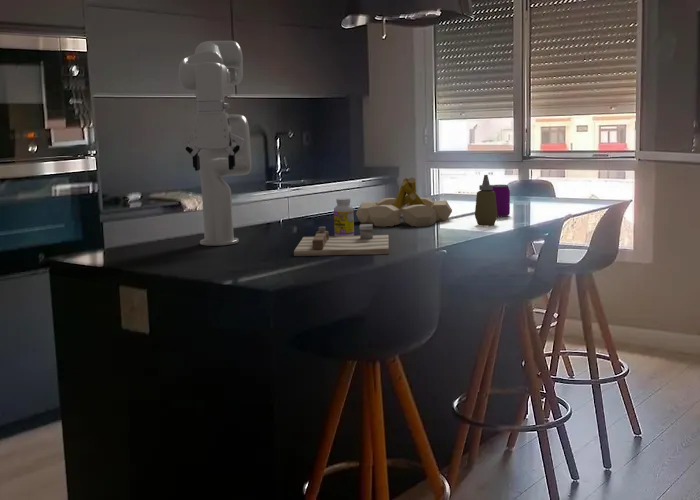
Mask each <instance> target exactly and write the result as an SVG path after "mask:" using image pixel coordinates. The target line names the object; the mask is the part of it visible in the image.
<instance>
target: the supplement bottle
mask: <svg viewBox="0 0 700 500" xmlns="http://www.w3.org/2000/svg"><path fill="white" fill-rule="evenodd" d="M335 202H336V205H335V207H334V209H333V222H334V223H333V225H334V226H333V229H334V231H333V232H334V236H355V224H354V223H355V222H354V221H355V219H354V217H355V216H354V207H353V206H351V204H350V203H351V198H348V197H339V198H336V201H335Z"/></svg>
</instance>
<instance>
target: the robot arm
mask: <svg viewBox="0 0 700 500" xmlns="http://www.w3.org/2000/svg"><path fill="white" fill-rule="evenodd" d="M243 62H244V56H243V51H242V48H241V46H240V44H239V43H238V42H237V41H234V40H207V41H202V42H201V43H199V44H198V45H197V46H196V48H195V50H194V53H193V54H191V55H189V56H186V57H183V58H182V60H180V63H179V66H178V76H177V77H178V82H179V85H180V87H181V89H183V90H185V91H186V92H188V91H190V92H192V91H193V93H194V95H195V97H196V110H197V113H194V114H195V115H194V121H193V134H191V135H189V136H187V137H185V139H183V140H182V141H181V144H182V145H183V147H184V148H185V151H186V152H187V153H188V154H189V155H190V156H191V157H192V167H193V168H194V170H195V172H197V171H198V173H199V177H200V187H201V200H202V201H201V202H202V217H203V219H202V220H203V234H204V238H203V239H201V240H199V244H200V245H201V246H206V247H207V246H209V247H211V246H212V247H214V246H216V247H217V246H218V247H219V246H228V245H234V244H237V243H239V238H238V237H236V236H235V235H234V221H233V219H234V218H233V203H232V202H233V201H232V200H233V199H232V189H231V187H230V185H229V184H228V183H227V182H226V181H225V180H224V179H223V177H232V176H233V177H234V176H237V177H238V176H245V175H246V176H247V175H248V174H250V173H251V170H252V147H251V135H250V134H251V133H250V127H249V126H250V125H249V122H248V119H247V117H246V116H244V115H242V114H233V113H231V114H229V112H226V110H228V109H230V108H231V107H230V106H231V105H230V103H227V102H226V101H225V90H226V88H227V87H228V86H238V85H240V84H241V83H242V81H243V78H244V64H243ZM224 89H225V90H224ZM190 142H193V146H194V148H192V146H190ZM233 145H234V146H233ZM234 236H235V237H234Z"/></svg>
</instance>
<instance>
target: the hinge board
mask: <svg viewBox="0 0 700 500" xmlns="http://www.w3.org/2000/svg"><path fill="white" fill-rule="evenodd" d="M373 225H374V223H360V224H359V235H353V236H335V235H329V240H327V241H326V243H325V245H324V247H323V249H313V241H312V240H313V239H314V237H315V236H303V237H302V239H301V240H300V242H299V243H298V244H297V246H296V247H295V249H294V251H293V257H306V256H307V257H309V256H347V255H351V256H352V255H355V256H356V255H358V256H359V255H389V251H390V250H389V249H390V248H389V243H390V242H389V238H390V237H389V234H374V232H373V231H374V229H373V227H374V226H373ZM318 231H327V230H326V226H319V227H318Z"/></svg>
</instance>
